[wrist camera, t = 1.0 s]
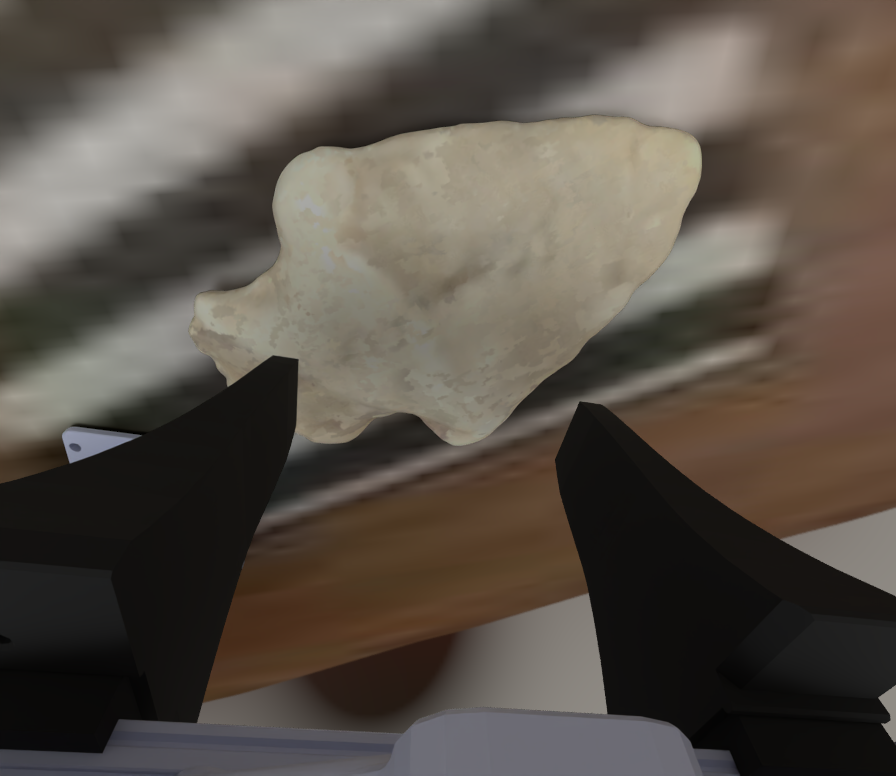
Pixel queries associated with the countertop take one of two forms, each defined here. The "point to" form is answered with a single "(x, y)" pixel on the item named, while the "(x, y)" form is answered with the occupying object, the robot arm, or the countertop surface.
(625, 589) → the robot arm
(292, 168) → the rock
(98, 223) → the countertop surface
